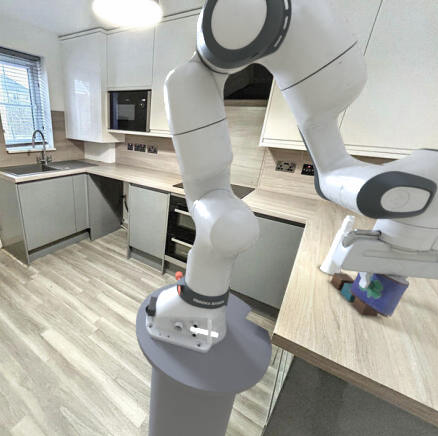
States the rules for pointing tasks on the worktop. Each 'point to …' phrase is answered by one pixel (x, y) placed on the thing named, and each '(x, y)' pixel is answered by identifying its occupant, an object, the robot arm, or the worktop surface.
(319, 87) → the robot arm
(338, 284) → the walnut block far
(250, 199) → the worktop surface
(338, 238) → the cosmetic bottle
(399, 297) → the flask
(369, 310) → the walnut block near
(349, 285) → the teal block
